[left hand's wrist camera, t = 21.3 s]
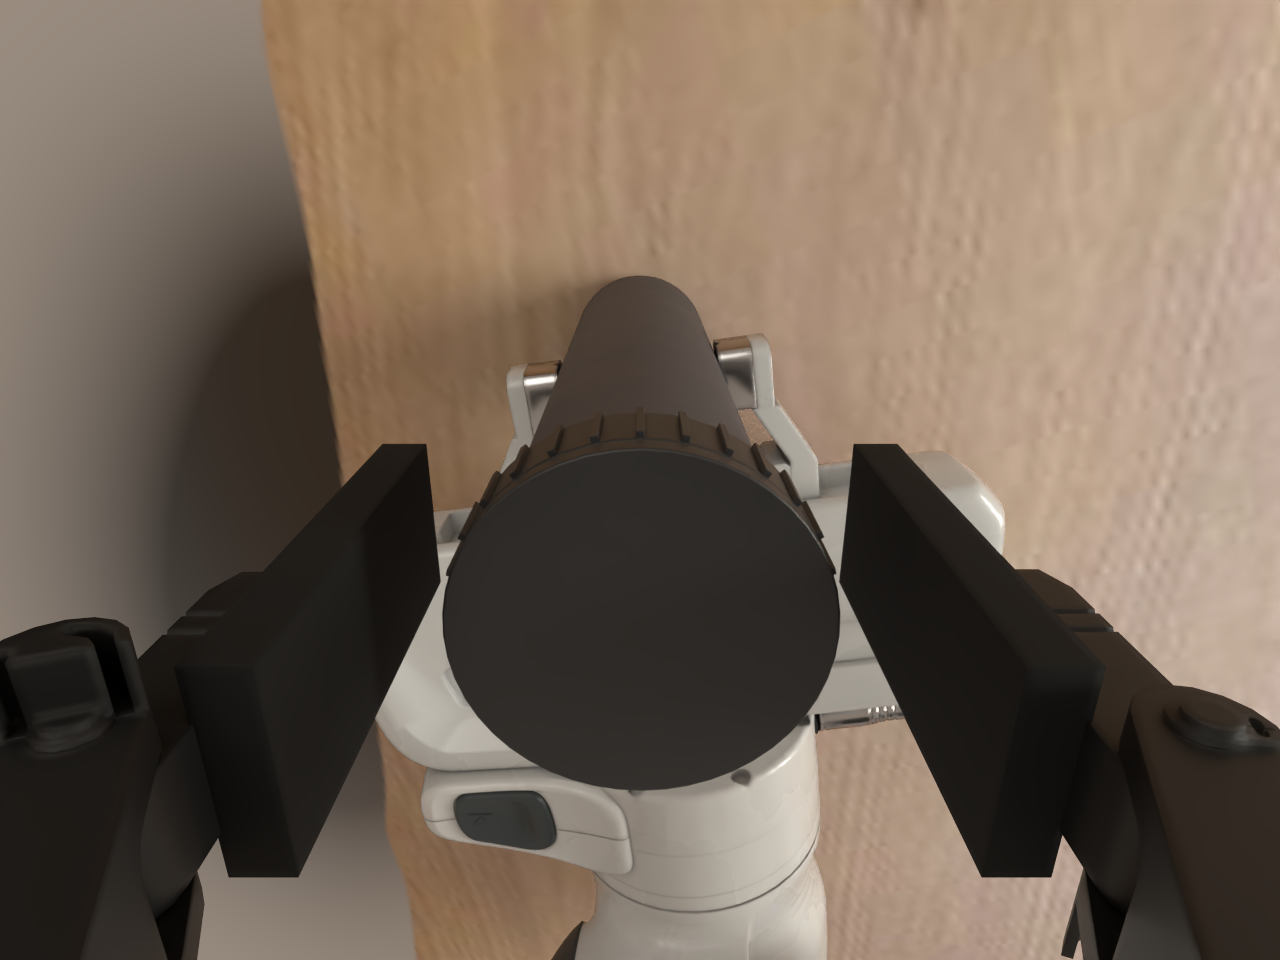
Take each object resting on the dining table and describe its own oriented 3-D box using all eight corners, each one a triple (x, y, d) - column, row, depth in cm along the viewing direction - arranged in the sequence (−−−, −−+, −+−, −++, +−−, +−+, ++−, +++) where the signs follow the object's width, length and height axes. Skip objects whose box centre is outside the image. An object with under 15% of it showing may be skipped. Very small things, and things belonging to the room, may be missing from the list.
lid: (384, 548, 12) (348, 603, 10) (678, 326, 10) (685, 350, 9) (611, 776, 13) (607, 852, 12) (889, 606, 12) (923, 667, 11)
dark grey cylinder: (660, 250, 27) (697, 390, 10) (725, 359, 29) (857, 648, 11) (552, 320, 28) (414, 561, 11) (621, 422, 30) (595, 781, 12)
